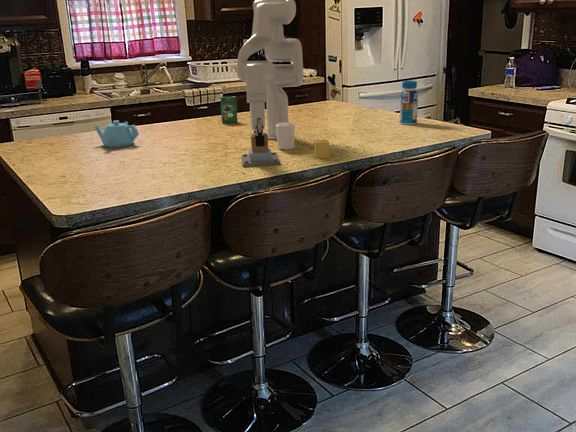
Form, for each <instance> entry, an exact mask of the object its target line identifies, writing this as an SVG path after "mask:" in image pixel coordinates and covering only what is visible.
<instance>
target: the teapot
mask: <svg viewBox="0 0 576 432" xmlns="http://www.w3.org/2000/svg"><path fill="white" fill-rule="evenodd" d="M94 129H95V131H96V133H97V135H98V136H99V138H100V140H101V143H102V144H103V146H104V147H106V148H112V149H114V148H115V149H116V148H125V147H126V148H127V147H129V146H132V145H133V143H134V142H135V140H136V139H137V137H138V136H139V131H138V129H137V127H136V124H131V125H129V122H128V121H123V122H120V120H113V121H112V123H110V124H107V125H106V126H105V127H104V130H103V129H102V128H101V126H99V125H97V126H96V125H95V126H94Z"/></svg>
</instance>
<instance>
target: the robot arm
mask: <svg viewBox="0 0 576 432" xmlns="http://www.w3.org/2000/svg"><path fill="white" fill-rule="evenodd" d="M252 9H253V21H252V30H251V31H252V32H251V37H250V38H249V39H247V40H246V41H245V42H244V43H243V45H242V46H241V48H240V49H239V52H238V56H237V65H236V75H237V78H238V80H240V81H242V82H245V86H246V87H245V88H246V102H247V104H249V113H250V114H249V117H250V118H249V119H250V128H251V130H252V131H253V134H254V133H256V136H255V138H256V146H257V147H260V146H265V143H264V133H265V132H264V130H265V127H266V124H267V127H266V128H267V132H266V133H267V135H268V140H277V135H276V124H277V123H283V122H289V98H288V95H287V93H286V92H285V90H284V89H283V88H290V87H291V88H293V87H295V88H296V87H300V86H302V84H303V83H304V61H303V47H302V46H303V45H302V44H301V43H302V42H301V41H300V40H299V39H298V38H293V37H292V38H285V35H284V26H283V25H289V24H290V23H291V22H292V21H293V20H294V18H295V17H296V12H297V5H296V1H295V0H254V1H253V3H252ZM263 49H264V55H265V59H266V60H248V59H249V58H250V56H252V55H253V54H255V53H257V52H259V51H261V50H263ZM276 62H277V63H279V62H280V63H281V62H282V63H283V62H284V63H285V62H288V63H289V62H290V64H274V63H276ZM265 104H266V107H265ZM265 108H266V111H265ZM266 121H267V123H266Z"/></svg>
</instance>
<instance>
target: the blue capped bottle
mask: <svg viewBox="0 0 576 432" xmlns="http://www.w3.org/2000/svg"><path fill="white" fill-rule="evenodd" d="M401 84H402V85H401V88H402V89H403V90H402V91H401V93H400V100H399V107H400V108H399V124H401V125H403V126H414V125H416V124H418V105H419V100H418V97H419V94H418V91H417V90H416V89H418V88H417V86H418V82H417V80H410V79H409V80H402V83H401Z"/></svg>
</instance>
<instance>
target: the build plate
mask: <svg viewBox="0 0 576 432" xmlns="http://www.w3.org/2000/svg"><path fill="white" fill-rule="evenodd" d="M240 158H241V165H242V167H243V168H245V167H246V168H249V167H263V166H281V160H280V158H279V155H278V153H277V152H275V151H271V148H270V147H268V152H256V153H252V148H248V153H243V154H241V155H240Z"/></svg>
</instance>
